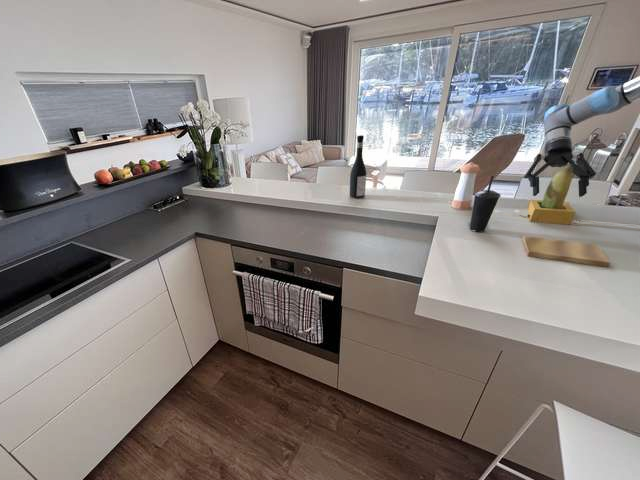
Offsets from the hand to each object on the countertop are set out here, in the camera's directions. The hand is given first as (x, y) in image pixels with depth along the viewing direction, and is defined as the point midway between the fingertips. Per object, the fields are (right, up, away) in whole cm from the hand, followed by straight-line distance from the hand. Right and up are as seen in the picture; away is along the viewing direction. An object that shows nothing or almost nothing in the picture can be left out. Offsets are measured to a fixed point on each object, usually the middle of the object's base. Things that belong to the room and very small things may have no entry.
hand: (558, 194), depth 105 cm
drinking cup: (-28, -13, +3) cm, 31 cm away
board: (-15, -22, -16) cm, 31 cm away
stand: (+1, -7, +7) cm, 10 cm away
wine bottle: (-61, +11, +48) cm, 79 cm away
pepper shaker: (-21, 0, +24) cm, 32 cm away
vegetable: (+2, -8, +7) cm, 10 cm away
